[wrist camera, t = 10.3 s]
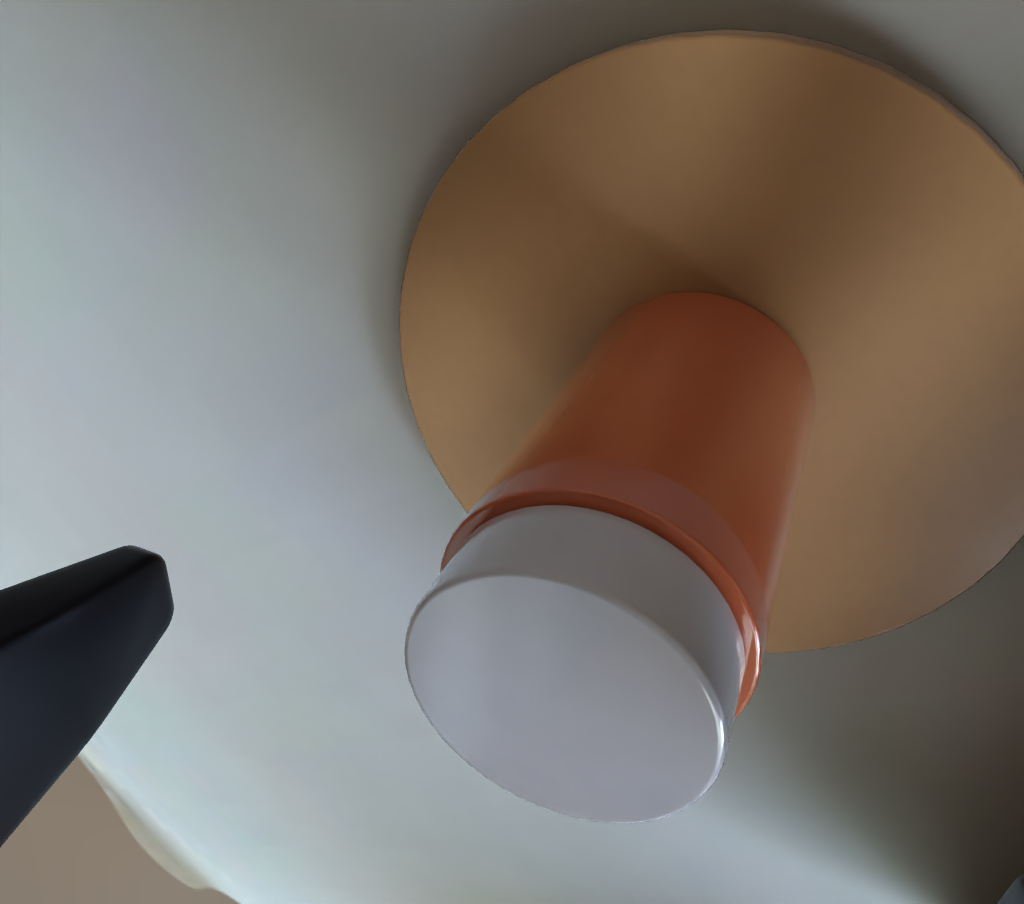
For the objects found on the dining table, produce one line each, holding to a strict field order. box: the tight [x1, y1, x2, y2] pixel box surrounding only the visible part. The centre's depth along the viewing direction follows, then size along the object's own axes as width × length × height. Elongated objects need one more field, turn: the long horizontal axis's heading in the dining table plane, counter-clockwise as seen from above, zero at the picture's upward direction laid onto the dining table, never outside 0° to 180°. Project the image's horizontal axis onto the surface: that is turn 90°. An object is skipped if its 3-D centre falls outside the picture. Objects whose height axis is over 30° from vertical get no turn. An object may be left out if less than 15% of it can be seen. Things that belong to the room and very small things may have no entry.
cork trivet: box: [399, 29, 1024, 653], centre depth 15 cm, size 11×11×1 cm
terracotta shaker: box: [405, 292, 816, 823], centre depth 12 cm, size 4×4×7 cm
